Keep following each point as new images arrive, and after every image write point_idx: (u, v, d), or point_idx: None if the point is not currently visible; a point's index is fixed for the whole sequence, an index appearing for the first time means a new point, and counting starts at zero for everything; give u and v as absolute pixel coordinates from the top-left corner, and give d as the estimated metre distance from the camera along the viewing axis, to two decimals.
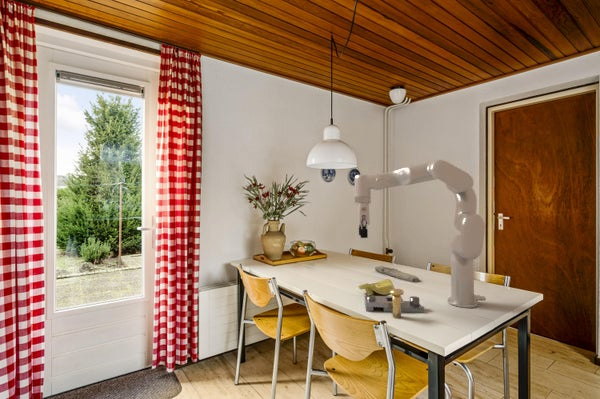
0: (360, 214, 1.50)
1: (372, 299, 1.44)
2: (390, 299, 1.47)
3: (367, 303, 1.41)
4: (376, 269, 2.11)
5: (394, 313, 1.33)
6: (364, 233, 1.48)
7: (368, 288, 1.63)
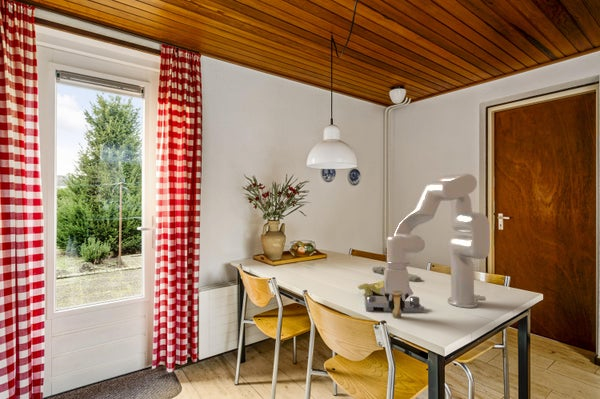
0: None
1: (372, 299, 1.44)
2: None
3: (367, 303, 1.41)
4: (374, 270, 2.10)
5: (394, 313, 1.33)
6: None
7: (367, 288, 1.62)
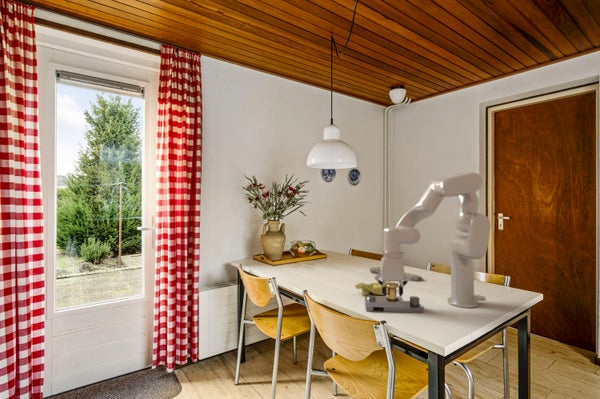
0: None
1: (372, 299, 1.44)
2: None
3: (367, 303, 1.41)
4: (373, 270, 2.08)
5: None
6: None
7: (364, 288, 1.63)
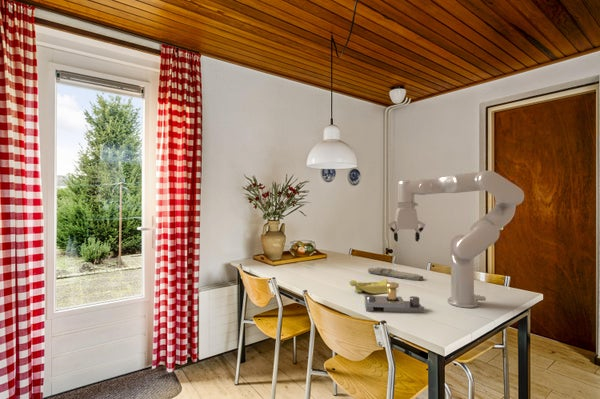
0: (417, 219, 1.54)
1: (372, 299, 1.44)
2: None
3: (367, 303, 1.41)
4: (372, 271, 2.06)
5: None
6: None
7: (357, 285, 1.68)
